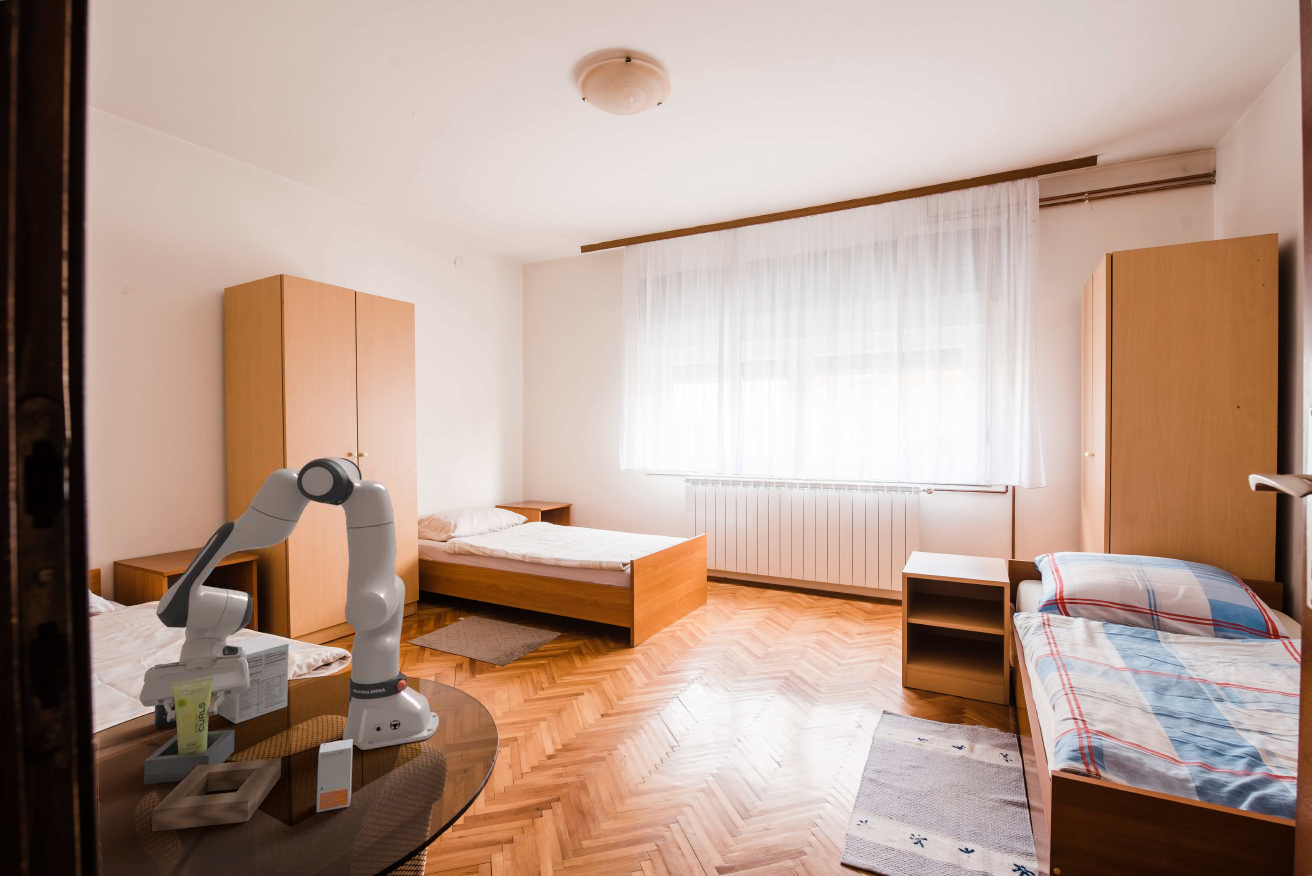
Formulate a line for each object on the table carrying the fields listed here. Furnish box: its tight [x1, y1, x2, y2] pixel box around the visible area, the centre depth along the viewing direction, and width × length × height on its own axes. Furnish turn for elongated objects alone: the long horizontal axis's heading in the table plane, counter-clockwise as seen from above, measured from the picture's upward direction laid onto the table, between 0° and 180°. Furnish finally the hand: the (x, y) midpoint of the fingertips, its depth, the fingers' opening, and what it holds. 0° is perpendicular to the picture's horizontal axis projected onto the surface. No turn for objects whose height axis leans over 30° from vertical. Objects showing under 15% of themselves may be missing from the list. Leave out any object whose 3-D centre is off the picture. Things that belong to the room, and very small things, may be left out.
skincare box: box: [316, 739, 354, 813], centre depth 122 cm, size 6×4×12 cm
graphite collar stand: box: [143, 729, 236, 785], centre depth 135 cm, size 12×12×5 cm
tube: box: [172, 677, 213, 755], centre depth 135 cm, size 6×5×20 cm
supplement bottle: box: [153, 703, 177, 730], centre depth 155 cm, size 7×7×12 cm
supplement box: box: [213, 635, 290, 724], centre depth 164 cm, size 13×13×18 cm
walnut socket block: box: [151, 757, 282, 832], centre depth 122 cm, size 16×16×4 cm
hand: (192, 717), depth 134 cm, fingers closed on tube, 6 cm apart
